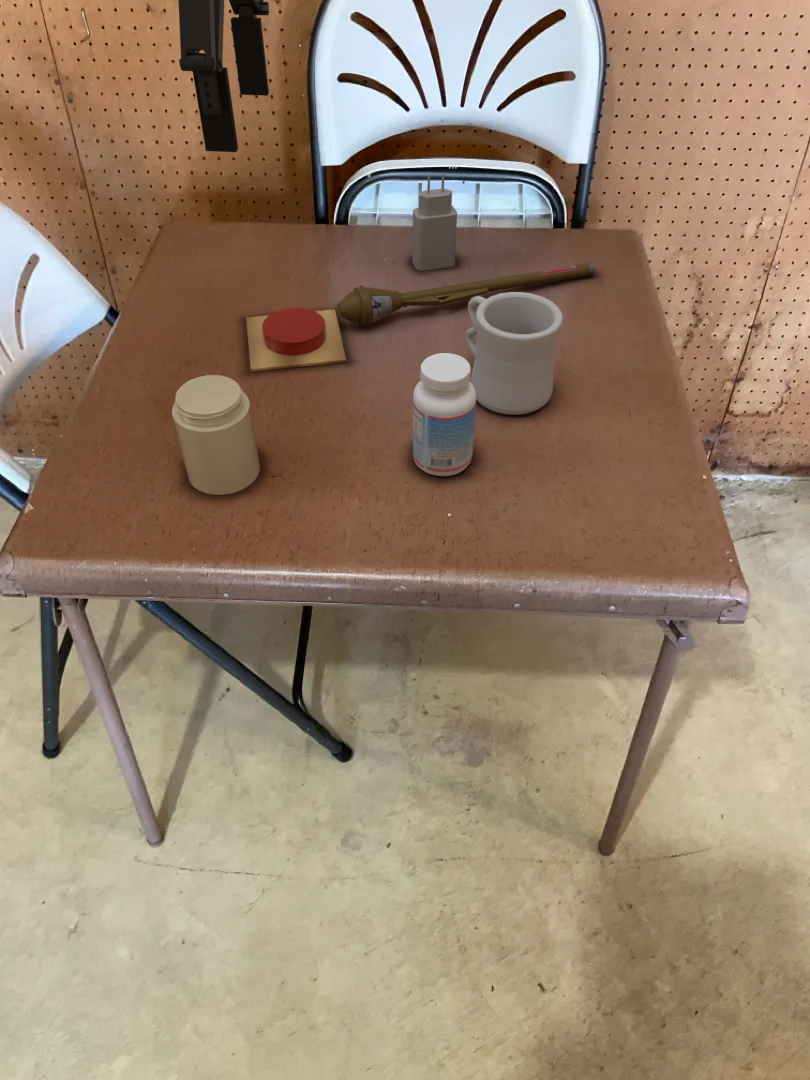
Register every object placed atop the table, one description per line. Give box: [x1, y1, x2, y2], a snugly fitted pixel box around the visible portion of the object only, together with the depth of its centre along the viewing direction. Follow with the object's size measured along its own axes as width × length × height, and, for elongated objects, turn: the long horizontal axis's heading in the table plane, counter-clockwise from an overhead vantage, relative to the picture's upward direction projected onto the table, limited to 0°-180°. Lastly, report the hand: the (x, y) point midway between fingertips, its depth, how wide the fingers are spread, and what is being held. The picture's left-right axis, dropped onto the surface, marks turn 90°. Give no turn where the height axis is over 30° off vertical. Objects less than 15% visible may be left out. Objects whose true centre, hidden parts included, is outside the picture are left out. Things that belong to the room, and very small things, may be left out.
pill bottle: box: [412, 352, 477, 477], centre depth 82 cm, size 6×6×11 cm
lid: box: [262, 307, 326, 355], centre depth 100 cm, size 8×7×2 cm
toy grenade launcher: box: [336, 262, 596, 327], centre depth 106 cm, size 5×35×5 cm
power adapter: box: [411, 172, 458, 272], centre depth 109 cm, size 3×5×12 cm, turn 105°
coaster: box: [245, 308, 347, 373], centre depth 100 cm, size 11×11×1 cm
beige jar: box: [171, 374, 261, 496], centre depth 81 cm, size 7×7×10 cm
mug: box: [464, 291, 564, 416], centre depth 91 cm, size 12×9×10 cm
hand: (239, 120), depth 78 cm, fingers open, 13 cm apart
